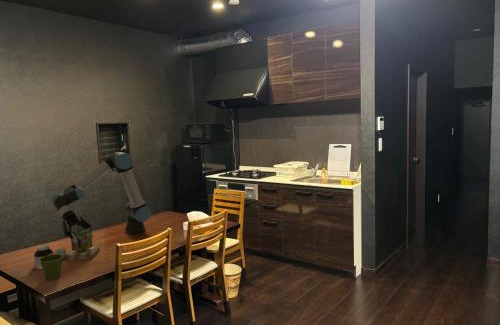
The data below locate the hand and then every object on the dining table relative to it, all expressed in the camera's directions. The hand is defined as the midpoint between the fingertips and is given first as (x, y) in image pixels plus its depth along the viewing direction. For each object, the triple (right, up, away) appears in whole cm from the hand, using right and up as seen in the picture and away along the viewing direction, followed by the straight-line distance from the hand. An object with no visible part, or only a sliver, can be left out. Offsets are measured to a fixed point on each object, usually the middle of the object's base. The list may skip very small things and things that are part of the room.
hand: (84, 239), depth 241 cm
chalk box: (-2, -6, +2) cm, 7 cm away
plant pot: (-3, -14, -33) cm, 36 cm away
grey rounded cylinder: (-14, -11, -2) cm, 18 cm away
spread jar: (-18, -13, -15) cm, 26 cm away
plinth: (-2, -11, +2) cm, 11 cm away
